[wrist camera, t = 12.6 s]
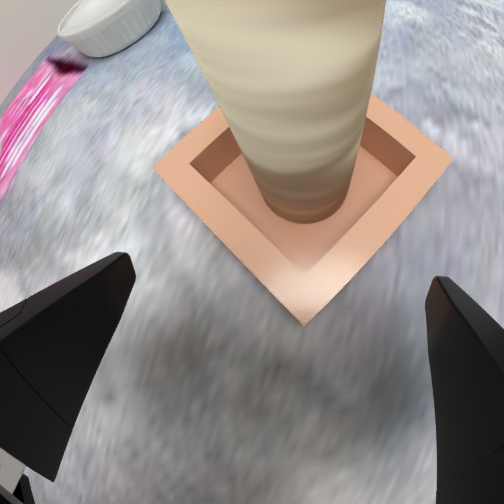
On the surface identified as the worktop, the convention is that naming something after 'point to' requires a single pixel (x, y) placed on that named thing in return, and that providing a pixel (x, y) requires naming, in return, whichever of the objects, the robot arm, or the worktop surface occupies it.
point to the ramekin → (107, 24)
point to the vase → (290, 90)
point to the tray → (305, 235)
